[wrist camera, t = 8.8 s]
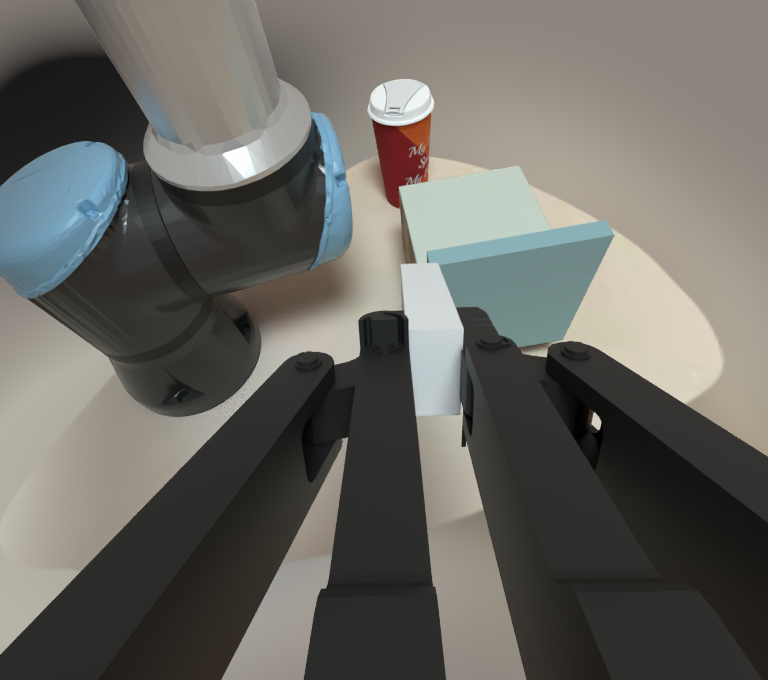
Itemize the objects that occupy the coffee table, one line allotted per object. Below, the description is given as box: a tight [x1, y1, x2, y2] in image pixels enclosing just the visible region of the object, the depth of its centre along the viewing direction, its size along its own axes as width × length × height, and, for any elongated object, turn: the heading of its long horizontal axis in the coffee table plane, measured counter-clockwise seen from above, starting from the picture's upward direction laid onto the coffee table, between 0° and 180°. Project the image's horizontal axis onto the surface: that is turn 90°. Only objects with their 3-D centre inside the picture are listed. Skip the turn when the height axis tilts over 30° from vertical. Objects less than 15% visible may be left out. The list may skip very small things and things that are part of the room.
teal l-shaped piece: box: [399, 166, 614, 347], centre depth 40 cm, size 18×13×14 cm
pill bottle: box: [368, 79, 434, 208], centre depth 53 cm, size 8×8×14 cm
